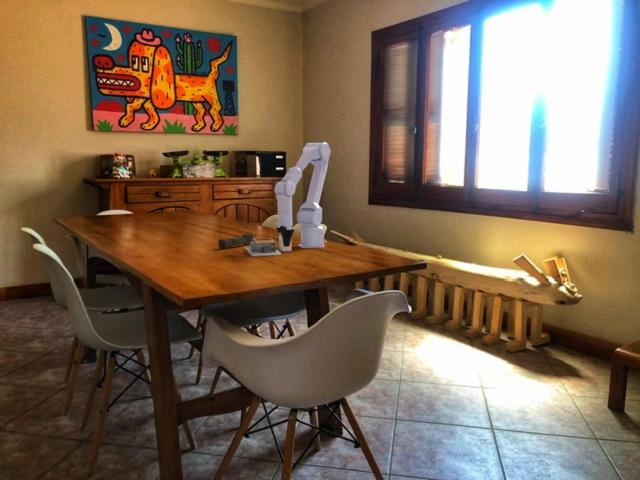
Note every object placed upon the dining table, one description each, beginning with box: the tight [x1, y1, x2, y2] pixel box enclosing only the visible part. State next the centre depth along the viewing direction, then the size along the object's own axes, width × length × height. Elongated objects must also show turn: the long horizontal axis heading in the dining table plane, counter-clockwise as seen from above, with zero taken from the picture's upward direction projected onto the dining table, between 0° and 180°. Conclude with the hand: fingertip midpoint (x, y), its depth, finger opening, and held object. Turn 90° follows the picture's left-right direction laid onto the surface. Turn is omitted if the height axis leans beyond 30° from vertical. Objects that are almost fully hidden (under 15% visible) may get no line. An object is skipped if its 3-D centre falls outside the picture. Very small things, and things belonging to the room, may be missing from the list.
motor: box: [244, 237, 282, 257], centre depth 204 cm, size 11×18×5 cm, turn 18°
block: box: [278, 233, 292, 252], centre depth 206 cm, size 4×4×7 cm
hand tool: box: [217, 232, 255, 249], centre depth 216 cm, size 19×4×5 cm, turn 141°
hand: (285, 245), depth 207 cm, fingers closed on block, 4 cm apart
